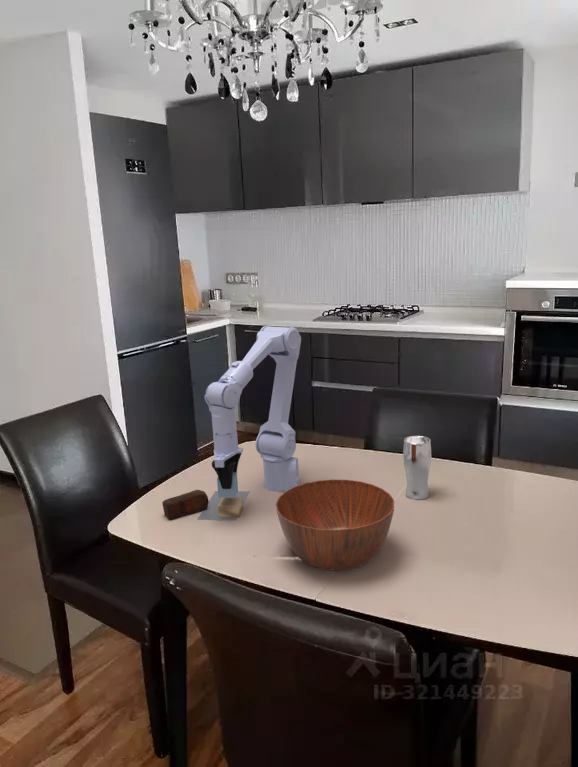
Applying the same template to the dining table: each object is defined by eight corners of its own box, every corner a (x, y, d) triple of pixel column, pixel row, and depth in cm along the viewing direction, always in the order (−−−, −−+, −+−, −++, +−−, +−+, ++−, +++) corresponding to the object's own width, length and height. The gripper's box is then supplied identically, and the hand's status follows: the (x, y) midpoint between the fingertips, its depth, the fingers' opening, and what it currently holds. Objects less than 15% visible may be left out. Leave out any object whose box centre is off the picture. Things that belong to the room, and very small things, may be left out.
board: (249, 494, 161) (249, 491, 161) (235, 523, 145) (235, 520, 144) (215, 493, 162) (215, 490, 162) (197, 522, 146) (197, 519, 146)
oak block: (243, 508, 151) (242, 497, 150) (238, 517, 146) (237, 506, 145) (223, 508, 151) (222, 497, 151) (218, 517, 146) (217, 505, 146)
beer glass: (401, 498, 154) (400, 443, 150) (406, 488, 160) (406, 434, 156) (428, 501, 151) (428, 445, 147) (433, 491, 157) (433, 436, 154)
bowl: (364, 596, 113) (363, 541, 110) (255, 564, 126) (252, 514, 123) (412, 539, 133) (412, 491, 130) (314, 516, 146) (312, 472, 144)
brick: (170, 523, 146) (167, 505, 145) (164, 518, 149) (161, 500, 148) (210, 508, 151) (207, 491, 150) (203, 504, 154) (200, 487, 153)
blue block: (222, 490, 150) (221, 471, 148) (238, 491, 149) (237, 472, 148) (218, 497, 146) (217, 478, 145) (234, 497, 145) (233, 478, 144)
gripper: (234, 441, 136) (238, 497, 139) (247, 422, 150) (250, 473, 153) (204, 441, 137) (208, 496, 140) (220, 422, 151) (224, 473, 154)
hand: (228, 484), depth 147 cm, fingers closed on blue block, 4 cm apart
